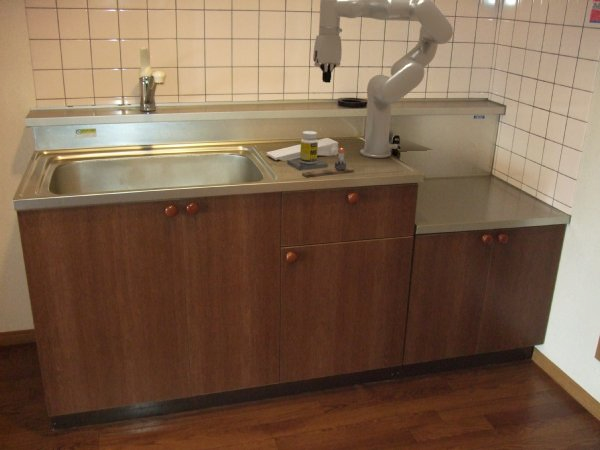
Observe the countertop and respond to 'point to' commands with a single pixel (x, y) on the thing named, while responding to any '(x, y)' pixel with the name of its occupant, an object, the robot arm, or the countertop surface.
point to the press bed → (303, 166)
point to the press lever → (340, 160)
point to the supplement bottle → (309, 147)
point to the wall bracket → (293, 152)
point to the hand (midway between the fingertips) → (326, 82)
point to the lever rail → (327, 172)
